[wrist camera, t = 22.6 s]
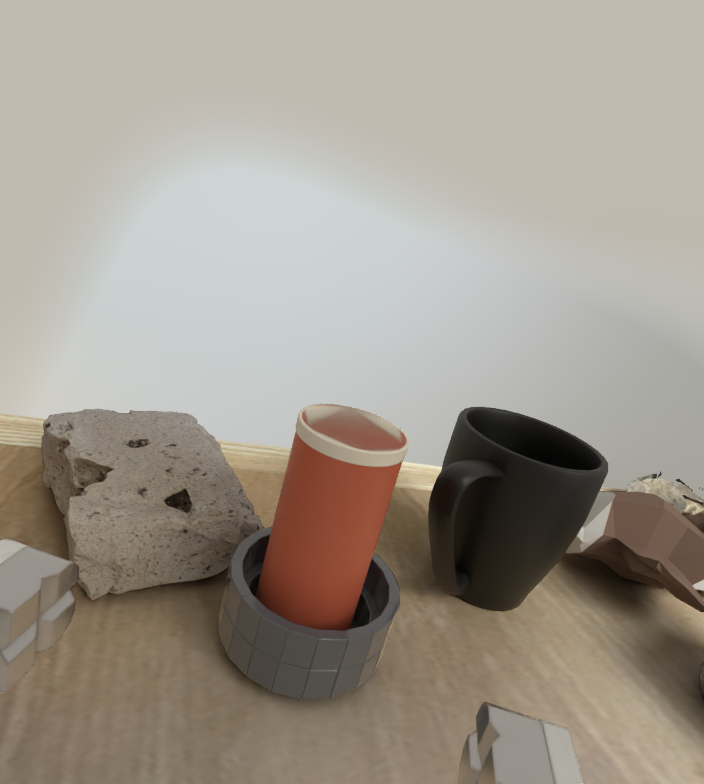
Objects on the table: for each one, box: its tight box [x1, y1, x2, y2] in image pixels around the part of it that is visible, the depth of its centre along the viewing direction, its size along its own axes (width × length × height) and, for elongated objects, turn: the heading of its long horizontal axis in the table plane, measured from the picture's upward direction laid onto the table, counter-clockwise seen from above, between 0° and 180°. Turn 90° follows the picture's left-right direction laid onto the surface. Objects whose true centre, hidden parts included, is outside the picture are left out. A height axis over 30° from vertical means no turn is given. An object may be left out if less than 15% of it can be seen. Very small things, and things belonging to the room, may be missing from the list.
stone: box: [42, 409, 264, 600], centre depth 28 cm, size 13×6×10 cm
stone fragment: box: [626, 472, 704, 516], centre depth 49 cm, size 19×8×5 cm
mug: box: [428, 407, 608, 611], centre depth 30 cm, size 8×12×10 cm
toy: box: [565, 491, 704, 612], centre depth 36 cm, size 16×16×7 cm
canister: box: [255, 404, 409, 630], centre depth 23 cm, size 4×4×10 cm
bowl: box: [219, 526, 400, 700], centre depth 24 cm, size 7×7×4 cm
